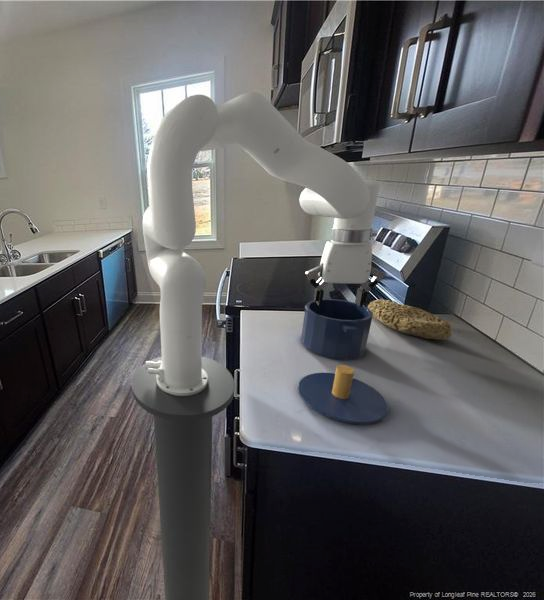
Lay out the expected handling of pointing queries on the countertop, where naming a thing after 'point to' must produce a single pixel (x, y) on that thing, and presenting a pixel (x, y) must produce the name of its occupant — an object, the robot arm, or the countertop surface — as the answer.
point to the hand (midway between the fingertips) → (338, 304)
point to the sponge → (410, 320)
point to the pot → (336, 329)
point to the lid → (343, 397)
